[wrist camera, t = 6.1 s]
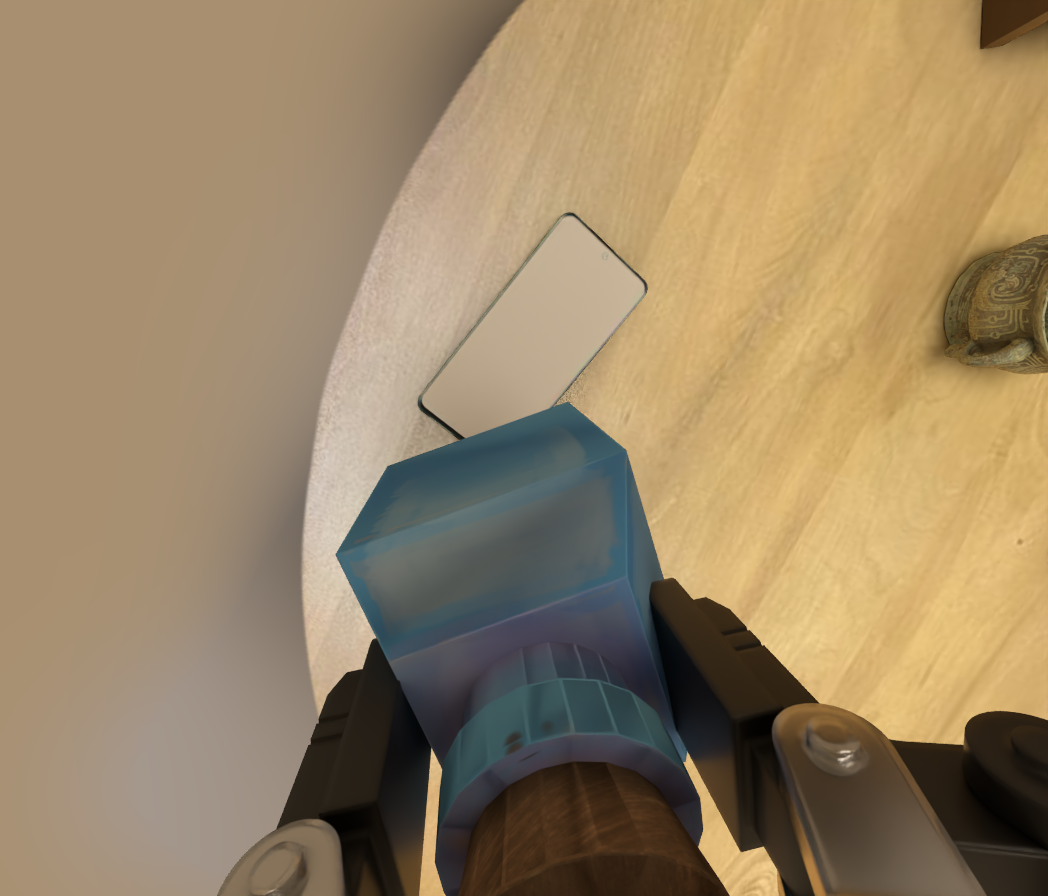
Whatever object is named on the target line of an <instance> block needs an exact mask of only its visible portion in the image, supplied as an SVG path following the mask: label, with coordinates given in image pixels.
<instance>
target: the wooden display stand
mask: <svg viewBox="0 0 1048 896" xmlns="http://www.w3.org/2000/svg"><path fill="white" fill-rule="evenodd" d="M1047 21H1048V0H983V16H982V38H981V48H989V47H996V46H1003V45H1005V44H1006V43H1008V42H1010V41H1012V40H1014V39H1016V38H1017V37H1019V36H1021V35H1023V34H1025V33H1026V32H1028V31H1030V30H1032V29H1034V28H1036V27H1037V26H1039V25H1041V24H1043V23H1045V22H1047Z"/></svg>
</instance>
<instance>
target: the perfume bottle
mask: <svg viewBox="0 0 1048 896" xmlns="http://www.w3.org/2000/svg"><path fill="white" fill-rule="evenodd" d="M336 557H337V559H338V561H339V563H340V565H341V567H342V569H343V571H344V573H345V575H346V577H347V579H348V581H349V583H350V585H351V587H352V589H353V591H354V593H355V595H356V597H357V599H358V601H359V603H360V605H361V607H362V609H363V611H364V613H365V615H366V617H367V619H368V622H369V624H370V626H371V628H372V630H373V632H374V634H375V636H376V638H377V640H378V642H379V644H380V646H381V648H382V650H383V652H384V654H385V656H386V658H387V660H388V662H389V664H390V666H391V668H392V670H393V672H394V674H395V676H396V678H397V680H400V683H401V687H402V690H403V692H404V694H405V696H406V698H407V700H408V702H409V704H410V706H411V708H412V710H413V712H414V714H415V716H416V718H417V720H418V722H419V724H420V726H421V728H422V730H423V732H424V734H425V736H426V738H427V740H428V742H429V744H430V746H431V748H432V749H433V751H434V753H435V755H436V757H437V759H438V761H439V763H440V765H441V767H442V777H441V785H440V795H439V810H438V824H437V839H436V853H435V864H436V868H437V871H438V874H439V877H440V881H441V884H442V887H443V891H444V893H445V895H446V896H729V894H728V892H727V891H726V889H725V887H724V885H723V884H722V883H721V881H720V880H719V878H718V877H717V875H716V874H715V872H714V871H713V869H712V868H711V866H710V865H709V863H708V862H707V860H706V859H705V857H704V856H703V854H702V853H701V851H700V850H699V848H698V846H699V842H700V839H701V835H702V832H703V823H702V813H701V802H700V797H699V795H698V793H697V791H696V789H695V786H694V784H693V782H692V780H691V778H690V776H689V774H688V772H687V770H686V768H685V766H684V764H683V762H686V756H687V749H686V747H685V746H684V744H683V742H682V740H681V738H680V736H679V734H678V732H677V730H676V725H675V721H674V716H673V711H672V706H671V701H670V696H669V692H668V687H667V682H666V677H665V672H664V668H663V663H662V658H661V653H660V648H659V644H658V639H657V634H656V629H655V624H654V620H653V615H652V610H651V605H650V600H649V594H650V587H651V583H652V582H654V581H659V580H664V578H663V574H662V571H661V568H660V564H659V561H658V557H657V554H656V550H655V547H654V544H653V540H652V537H651V533H650V530H649V526H648V523H647V520H646V516H645V513H644V509H643V506H642V502H641V499H640V496H639V492H638V489H637V485H636V482H635V479H634V475H633V472H632V468H631V465H630V461H629V458H628V455H627V451H626V449H624V448H623V447H622V446H621V445H619V444H618V443H617V442H616V441H615V440H613V439H612V438H611V437H610V436H609V435H607V434H606V433H605V432H604V431H603V430H601V429H600V428H599V427H598V426H596V425H595V424H594V423H593V422H592V421H590V420H589V419H588V418H587V417H586V416H584V415H583V414H582V413H581V412H579V411H578V410H577V409H576V408H575V407H573V406H572V405H571V404H570V403H569V402H566V403H563V404H560V405H557V406H555V407H552V408H549V409H546V410H543V411H541V412H538V413H535V414H532V415H529V416H527V417H524V418H521V419H518V420H515V421H513V422H510V423H507V424H504V425H501V426H499V427H496V428H493V429H490V430H487V431H485V432H482V433H479V434H476V435H473V436H471V437H468V438H465V439H462V440H460V441H457V442H454V443H451V444H448V445H446V446H443V447H440V448H437V449H434V450H432V451H429V452H426V453H423V454H420V455H418V456H415V457H412V458H409V459H406V460H404V461H401V462H398V463H395V464H392V465H390V466H387V468H386V470H385V471H384V473H383V475H382V477H381V478H380V480H379V482H378V483H377V485H376V487H375V488H374V490H373V492H372V494H371V495H370V497H369V499H368V500H367V502H366V504H365V505H364V507H363V509H362V511H361V512H360V514H359V516H358V517H357V519H356V521H355V522H354V524H353V526H352V528H351V529H350V531H349V533H348V534H347V536H346V538H345V539H344V541H343V543H342V544H341V546H340V548H339V550H338V551H337V553H336Z"/></svg>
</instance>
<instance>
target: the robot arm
mask: <svg viewBox="0 0 1048 896" xmlns="http://www.w3.org/2000/svg"><path fill="white" fill-rule="evenodd" d="M649 600H650V605H651V610H652V615H653V620H654V624H655V629H656V634H657V639H658V644H659V648H660V653H661V658H662V663H663V668H664V672H665V677H666V682H667V687H668V692H669V696H670V701H671V706H672V711H673V716H674V721H675V725H676V730H677V732H678V734H679V736H680V738H681V740H682V742H683V744H684V746H685V747H686V749H687V751H688V753H689V755H690V757H691V759H692V761H693V763H694V764H695V766H696V768H697V770H698V772H699V774H700V776H701V778H702V780H703V781H704V783H705V785H706V787H707V789H708V791H709V793H710V795H711V797H712V798H713V800H714V802H715V804H716V806H717V808H718V810H719V812H720V814H721V815H722V817H723V819H724V821H725V823H726V825H727V827H728V829H729V831H730V833H731V834H732V836H733V838H734V840H735V842H736V844H737V846H738V848H739V850H740V851H741V852H743V851H747V850H751V849H755V848H759V847H763V846H764V847H765V849H766V851H767V853H768V854H769V856H770V858H771V860H772V861H773V863H774V865H775V866H776V868H777V882H778V892H779V896H1048V720H1045V719H1042V718H1038V717H1035V716H1031V715H1026V714H1022V713H1015V712H1007V711H993V712H985V713H982V714H978V715H976V716H974V717H972V718H971V719H970V720H969V721H968V722H967V725H966V727H965V735H964V745H954V744H937V743H920V742H905V741H896V740H890V739H888V738H887V737H886V736H885V735H884V734H883V733H882V732H881V731H880V730H879V729H878V728H876V727H875V726H874V725H873V724H871V723H870V722H868V721H867V720H865V719H864V718H862V717H860V716H858V715H856V714H854V713H852V712H849V711H847V710H844V709H842V708H838V707H835V706H831V705H826V704H820V703H819V702H818V701H817V700H816V699H815V698H814V697H813V696H812V695H811V694H810V693H809V692H808V691H807V690H806V689H805V688H804V687H803V686H802V685H801V683H800V682H799V681H798V680H797V679H796V678H795V677H794V676H793V675H792V674H791V673H790V672H789V671H788V670H787V669H786V668H785V667H784V666H783V665H782V664H781V663H780V661H779V660H778V659H777V658H776V657H775V656H774V655H773V654H772V653H771V652H770V651H769V650H768V649H767V648H766V647H765V646H764V645H763V646H762V645H761V642H760V641H759V639H758V638H757V637H756V636H755V635H754V634H753V633H752V632H751V631H750V630H749V631H748V630H747V628H746V626H745V625H744V624H743V623H742V622H741V621H740V620H739V619H738V617H737V616H736V615H735V614H734V613H733V612H732V611H731V610H730V609H728V608H726V607H724V606H722V605H720V604H718V603H716V602H714V601H713V600H711V599H709V598H707V597H705V598H700V599H695V600H693V599H692V598H691V597H690V596H689V595H688V593H687V592H686V591H685V590H684V589H683V587H682V586H681V585H680V584H679V583H678V582H677V581H676V580H675V579H674V578H668V579H664V580H659V581H654V582H652V583H651V587H650V594H649ZM430 757H431V746H430V744H429V742H428V740H427V738H426V736H425V734H424V732H423V730H422V728H421V726H420V724H419V722H418V720H417V718H416V716H415V714H414V712H413V710H412V708H411V706H410V704H409V702H408V700H407V698H406V696H405V694H404V692H403V690H402V687H401V683H400V680H397V678H396V676H395V674H394V672H393V670H392V668H391V666H390V664H389V662H388V660H387V658H386V656H385V654H384V652H383V650H382V648H381V646H380V644H379V642H378V640H377V638H376V639H373V640H372V642H371V644H370V647H369V651H368V654H367V657H366V660H365V663H364V667H363V669H361V670H356V671H351V672H347V673H346V674H345V675H344V676H343V677H342V679H341V680H340V681H339V682H338V683H337V685H336V686H335V687H334V688H333V689H332V690H331V692H330V693H329V694H328V696H327V698H326V701H325V703H324V706H323V709H322V711H321V714H320V716H319V724H316V727H315V730H314V732H313V735H312V737H311V745H308V748H307V750H306V753H305V756H304V758H303V761H302V763H301V766H300V769H299V771H298V774H297V776H296V779H295V782H294V784H293V787H292V790H291V792H290V795H289V797H288V800H287V803H286V806H285V808H284V811H283V813H282V816H281V818H280V821H279V824H278V826H277V829H276V830H275V831H273V832H271V833H270V834H268V835H267V836H265V837H264V838H262V839H261V840H260V841H259V842H257V843H256V844H255V845H254V846H253V847H251V848H250V849H249V850H248V851H247V852H246V853H245V854H244V856H242V857H241V859H240V860H239V861H238V862H237V864H236V865H235V866H234V867H233V869H232V870H231V872H230V873H229V874H228V876H227V877H226V879H225V881H224V883H223V884H222V886H221V888H220V890H219V892H218V895H217V896H419V888H420V876H421V865H422V853H423V841H424V829H425V817H426V805H427V793H428V781H429V769H430Z"/></svg>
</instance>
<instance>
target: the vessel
mask: <svg viewBox="0 0 1048 896" xmlns="http://www.w3.org/2000/svg"><path fill="white" fill-rule="evenodd" d="M944 320H945V331H946V336H947V339H948V341H949V343H950V345H951V346H949V347H948V348H946V350H945V351H944V355H945V356H947V357H956V358H958V360H959V361H960V362H961V363H962V364H965V365H968V366H974V367H987V366H994V367H996V368H999V369H1003V370H1006V371H1010V372H1013V373H1019V374H1038V373H1047V372H1048V235H1042V236H1038V237H1034V238H1032V239H1029V240H1027V241H1025V242H1022V243H1020V244H1018V245H1016V246H1013V247H1011V248H1009V249H1007V250H1005V251H1004V252H1003V253H992V254H990V255H987V256H985V257H983V258H981V259H979V260H977V261H974V262H973V263H972V264H971V265H970V266H969V268H968V269H967V270H966V271H965V272H964V273H963V274H962V275H961V276H960V277H959V278H958V280H957V282H956V284H955V286H954V288H953V290H952V292H951V293H950V295H949V297H948V302H947V307H946V312H945V317H944Z"/></svg>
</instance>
